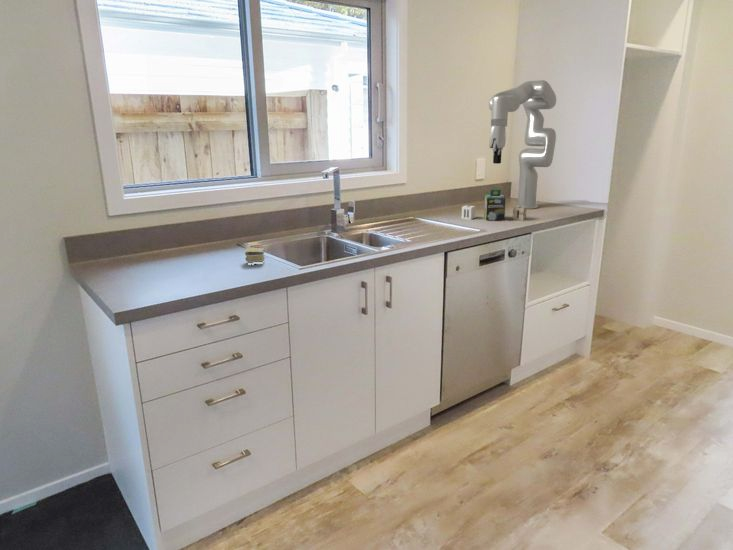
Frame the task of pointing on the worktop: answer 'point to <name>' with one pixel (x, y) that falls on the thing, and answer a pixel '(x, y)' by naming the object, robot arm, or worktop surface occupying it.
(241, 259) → the worktop surface
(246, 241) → the worktop surface
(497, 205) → the green boxy container
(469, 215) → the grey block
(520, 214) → the birch block
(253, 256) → the stacked layers on plate
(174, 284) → the worktop surface
